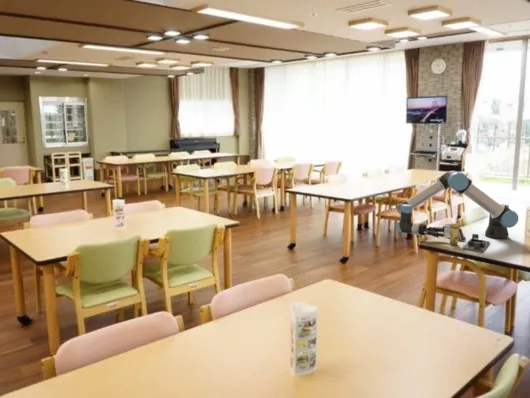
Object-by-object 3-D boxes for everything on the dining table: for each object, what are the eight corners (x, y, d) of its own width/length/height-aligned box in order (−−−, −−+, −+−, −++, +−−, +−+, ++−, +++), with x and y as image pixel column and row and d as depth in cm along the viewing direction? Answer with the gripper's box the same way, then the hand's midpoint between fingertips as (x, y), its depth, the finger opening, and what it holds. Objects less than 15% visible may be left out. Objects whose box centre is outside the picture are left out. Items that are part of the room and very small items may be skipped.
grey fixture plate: (470, 240, 330) (471, 233, 329) (489, 243, 323) (490, 235, 322) (462, 249, 307) (463, 241, 306) (482, 252, 301) (483, 244, 300)
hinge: (466, 239, 333) (463, 226, 330) (461, 242, 332) (458, 229, 329) (447, 233, 348) (445, 221, 345) (442, 236, 347) (440, 223, 344)
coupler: (457, 243, 320) (459, 223, 318) (459, 246, 315) (461, 225, 313) (447, 243, 321) (449, 223, 319) (449, 245, 316) (451, 225, 313)
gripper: (424, 231, 340) (455, 235, 328) (413, 238, 319) (447, 243, 308) (424, 220, 338) (456, 224, 327) (414, 227, 318) (448, 231, 306)
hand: (452, 233), depth 317 cm, fingers open, 13 cm apart
